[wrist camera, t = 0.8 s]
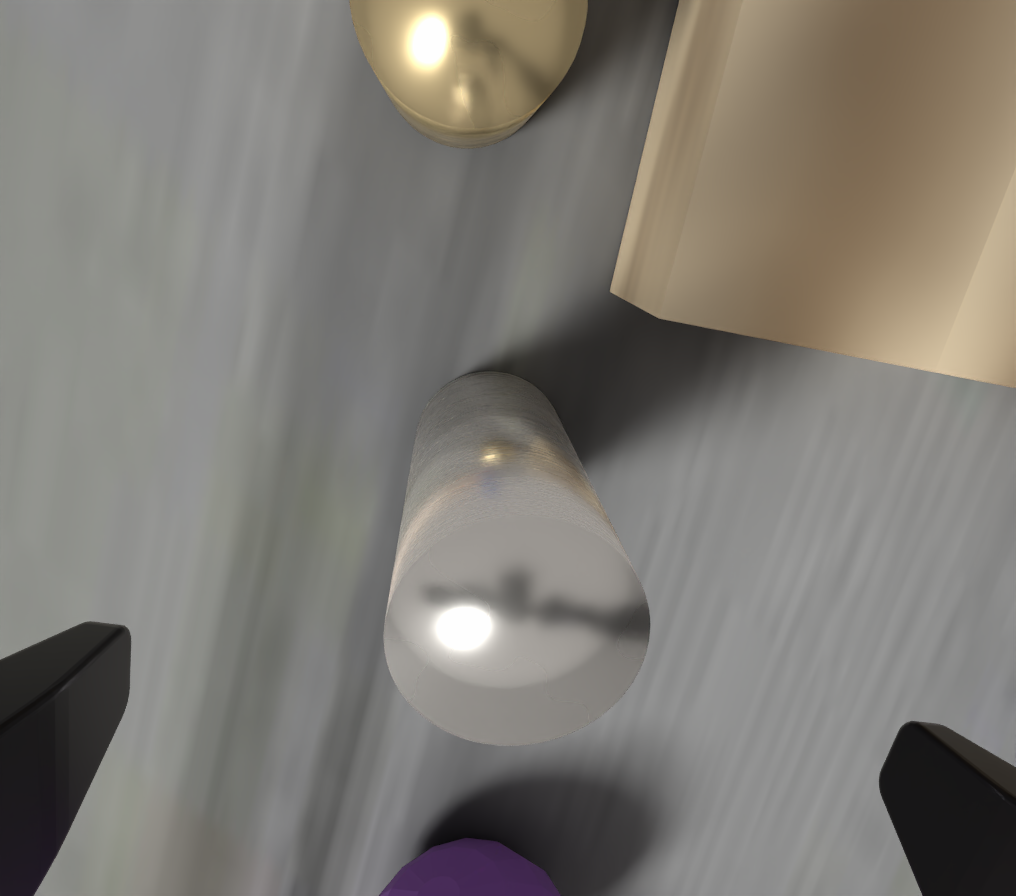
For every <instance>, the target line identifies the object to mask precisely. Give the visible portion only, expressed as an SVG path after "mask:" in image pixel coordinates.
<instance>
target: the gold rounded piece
mask: <svg viewBox="0 0 1016 896" xmlns="http://www.w3.org/2000/svg"><path fill="white" fill-rule="evenodd" d="M350 9H351V14H352V20H353V24H354V27H355V31H356V34H357V37H358V40H359V43H360V45H361V47H362V50H363V52H364V54H365V57H366V58H367V60H368V62H369V64H370V65H371V67H372V69H373V71H374V72H375V74H376V76H377V77H378V79H379V81H380V82H381V84H382V86H383V88H384V89H385V91H386V93H387V94H388V96H389V98H390V99H391V101H392V103H393V104H394V106H395V108H396V109H397V110H398V112H399V113H400V114H401V116H402V117H403V118H404V119H405V120H406V121H407V122H408V123H409V124H410V125H411V126H412V127H413V128H414V129H416V130H417V131H418V132H419V133H421V134H422V135H424V136H426V137H427V138H429V139H431V140H433V141H435V142H437V143H440V144H443V145H446V146H450V147H455V148H468V149H473V148H480V147H485V146H489V145H492V144H495V143H497V142H500V141H502V140H504V139H506V138H507V137H509V136H511V135H512V134H514V133H515V132H516V131H517V130H519V129H520V128H521V127H522V126H523V125H524V124H525V123H526V122H527V121H528V120H529V119H530V117H531V116H532V115H533V114H534V113H535V112H536V111H537V109H538V108H539V107H540V106H541V105H542V104H543V102H544V101H545V100H546V99H547V98H548V97H549V96H550V94H551V93H552V92H553V91H554V90H555V89H556V88H557V86H558V85H559V83H560V82H561V81H562V79H563V78H564V76H565V75H566V74H567V72H568V70H569V68H570V66H571V64H572V62H573V61H574V59H575V56H576V54H577V51H578V49H579V46H580V43H581V40H582V36H583V32H584V28H585V23H586V16H587V9H588V0H350Z"/></svg>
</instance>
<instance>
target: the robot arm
mask: <svg viewBox="0 0 1016 896" xmlns="http://www.w3.org/2000/svg"><path fill="white" fill-rule="evenodd" d="M130 661H131V635H130V632H129V630H128V629H127V628H126V627H125V626H123V625H117V624H109V623H100V622H91V621H90V622H84V623H82V624H79V625H77V626H75V627H72V628H70V629H68V630H66V631H63V632H61V633H59V634H57V635H54V636H52V637H50V638H48V639H46V640H43V641H41V642H39V643H37V644H34V645H32V646H30V647H28V648H25V649H23V650H21V651H19V652H17V653H14V654H12V655H10V656H8V657H5V658H3V659H1V660H0V896H34V894H35V892H36V891H37V889H38V887H39V886H40V884H41V882H42V881H43V879H44V877H45V875H46V874H47V872H48V870H49V868H50V867H51V865H52V863H53V861H54V859H55V858H56V856H57V854H58V852H59V850H60V848H61V846H62V844H63V842H64V840H65V838H66V836H67V834H68V832H69V830H70V827H71V825H72V823H73V821H74V819H75V817H76V815H77V812H78V810H79V808H80V806H81V804H82V802H83V800H84V797H85V795H86V793H87V791H88V789H89V787H90V785H91V783H92V780H93V778H94V776H95V774H96V772H97V770H98V768H99V765H100V763H101V761H102V759H103V757H104V755H105V753H106V751H107V748H108V746H109V744H110V742H111V740H112V738H113V736H114V733H115V731H116V729H117V727H118V725H119V723H120V721H121V719H122V716H123V714H124V711H125V709H126V706H127V702H128V697H129V690H130ZM879 788H880V793H881V796H882V799H883V801H884V804H885V806H886V808H887V811H888V813H889V816H890V818H891V821H892V823H893V825H894V828H895V830H896V833H897V835H898V837H899V840H900V842H901V845H902V847H903V850H904V852H905V854H906V857H907V859H908V862H909V864H910V866H911V869H912V871H913V874H914V876H915V878H916V881H917V883H918V886H919V888H920V891H921V893H922V895H923V896H1016V767H1014V766H1012V765H1011V764H1009V763H1007V762H1006V761H1004V760H1002V759H1001V758H999V757H997V756H995V755H994V754H992V753H990V752H989V751H987V750H985V749H983V748H982V747H980V746H978V745H977V744H975V743H973V742H971V741H970V740H968V739H966V738H965V737H963V736H961V735H959V734H958V733H956V732H954V731H953V730H951V729H949V728H947V727H945V726H943V725H940V724H935V723H926V722H918V721H910V722H907V723H905V724H904V725H903V726H902V727H901V728H900V730H899V731H898V734H897V736H896V738H895V740H894V742H893V745H892V747H891V749H890V751H889V753H888V756H887V758H886V760H885V762H884V765H883V767H882V769H881V772H880V776H879Z"/></svg>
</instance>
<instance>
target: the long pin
mask: <svg viewBox="0 0 1016 896" xmlns="http://www.w3.org/2000/svg"><path fill="white" fill-rule="evenodd" d="M649 634H650V615H649V607H648V603H647V599H646V595H645V592H644V590H643V587H642V585H641V582H640V580H639V578H638V576H637V574H636V572H635V570H634V568H633V566H632V564H631V562H630V560H629V558H628V556H627V554H626V552H625V550H624V548H623V546H622V544H621V542H620V540H619V538H618V536H617V534H616V532H615V530H614V528H613V526H612V524H611V522H610V520H609V518H608V516H607V514H606V512H605V510H604V508H603V506H602V504H601V502H600V500H599V498H598V496H597V494H596V492H595V490H594V488H593V486H592V484H591V482H590V480H589V478H588V476H587V474H586V472H585V470H584V468H583V466H582V464H581V462H580V460H579V458H578V456H577V454H576V452H575V450H574V448H573V446H572V444H571V442H570V439H569V437H568V435H567V433H566V431H565V429H564V427H563V425H562V423H561V421H560V419H559V417H558V415H557V413H556V411H555V409H554V408H553V406H552V404H551V403H550V401H549V400H548V399H547V397H546V396H545V395H544V394H543V393H542V392H541V391H540V390H539V389H538V388H536V387H535V386H534V385H532V384H531V383H530V382H528V381H526V380H524V379H522V378H520V377H517V376H515V375H512V374H508V373H504V372H495V371H483V372H477V373H472V374H468V375H465V376H462V377H460V378H457V379H455V380H453V381H452V382H450V383H448V384H447V385H445V386H444V387H443V388H441V389H440V390H439V391H438V392H437V393H436V394H435V395H434V396H433V397H432V398H431V400H430V401H429V402H428V404H427V405H426V407H425V409H424V410H423V412H422V414H421V417H420V420H419V422H418V427H417V431H416V437H415V443H414V449H413V455H412V461H411V467H410V473H409V479H408V485H407V491H406V497H405V503H404V509H403V515H402V521H401V527H400V533H399V539H398V545H397V551H396V557H395V563H394V569H393V575H392V581H391V587H390V593H389V599H388V605H387V611H386V617H385V626H384V650H385V655H386V660H387V664H388V668H389V670H390V673H391V675H392V678H393V680H394V682H395V684H396V685H397V687H398V689H399V691H400V692H401V694H402V695H403V696H404V698H405V699H406V700H407V701H408V703H409V704H410V705H411V706H412V707H413V708H414V709H415V710H416V711H417V712H418V713H419V714H420V715H421V716H423V717H424V718H425V719H427V720H428V721H430V722H431V723H432V724H434V725H435V726H437V727H439V728H441V729H443V730H444V731H446V732H448V733H451V734H453V735H456V736H458V737H461V738H463V739H467V740H471V741H474V742H478V743H484V744H490V745H502V746H517V745H529V744H536V743H542V742H546V741H549V740H553V739H557V738H560V737H562V736H565V735H568V734H570V733H573V732H575V731H577V730H579V729H581V728H583V727H585V726H587V725H588V724H590V723H591V722H593V721H594V720H596V719H597V718H599V717H600V716H602V715H603V714H604V713H605V712H606V711H608V710H609V709H610V708H611V707H612V706H614V704H615V703H616V702H617V701H618V700H619V699H620V698H621V697H622V696H623V695H624V694H625V692H626V691H627V690H628V688H629V687H630V685H631V684H632V683H633V681H634V679H635V677H636V676H637V674H638V672H639V670H640V668H641V666H642V663H643V660H644V658H645V655H646V651H647V647H648V642H649Z"/></svg>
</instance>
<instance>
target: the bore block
mask: <svg viewBox="0 0 1016 896" xmlns="http://www.w3.org/2000/svg"><path fill="white" fill-rule="evenodd" d="M610 292H611V293H613V294H615V295H617V296H618V297H620V298H622V299H624V300H626V301H628V302H629V303H631V304H633V305H635V306H637V307H639V308H640V309H642V310H644V311H646V312H648V313H650V314H651V315H653V316H655V317H657V318H659V319H664V320H669V321H674V322H679V323H684V324H689V325H694V326H700V327H705V328H710V329H715V330H720V331H725V332H730V333H735V334H741V335H746V336H751V337H756V338H761V339H766V340H771V341H777V342H782V343H787V344H792V345H797V346H802V347H807V348H813V349H818V350H823V351H828V352H833V353H838V354H843V355H848V356H854V357H859V358H864V359H869V360H874V361H879V362H884V363H890V364H895V365H900V366H905V367H910V368H915V369H920V370H925V371H931V372H936V373H941V374H946V375H951V376H956V377H961V378H967V379H972V380H977V381H982V382H987V383H992V384H997V385H1002V386H1008V387H1013V388H1016V0H679V3H678V8H677V12H676V16H675V20H674V24H673V28H672V33H671V37H670V41H669V45H668V49H667V54H666V58H665V62H664V66H663V70H662V74H661V79H660V83H659V87H658V91H657V95H656V100H655V104H654V108H653V112H652V116H651V120H650V125H649V129H648V133H647V137H646V141H645V146H644V150H643V154H642V158H641V162H640V166H639V171H638V175H637V179H636V183H635V187H634V192H633V196H632V200H631V204H630V208H629V213H628V217H627V221H626V225H625V229H624V233H623V238H622V242H621V246H620V250H619V254H618V259H617V263H616V267H615V271H614V275H613V279H612V284H611V288H610Z"/></svg>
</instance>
